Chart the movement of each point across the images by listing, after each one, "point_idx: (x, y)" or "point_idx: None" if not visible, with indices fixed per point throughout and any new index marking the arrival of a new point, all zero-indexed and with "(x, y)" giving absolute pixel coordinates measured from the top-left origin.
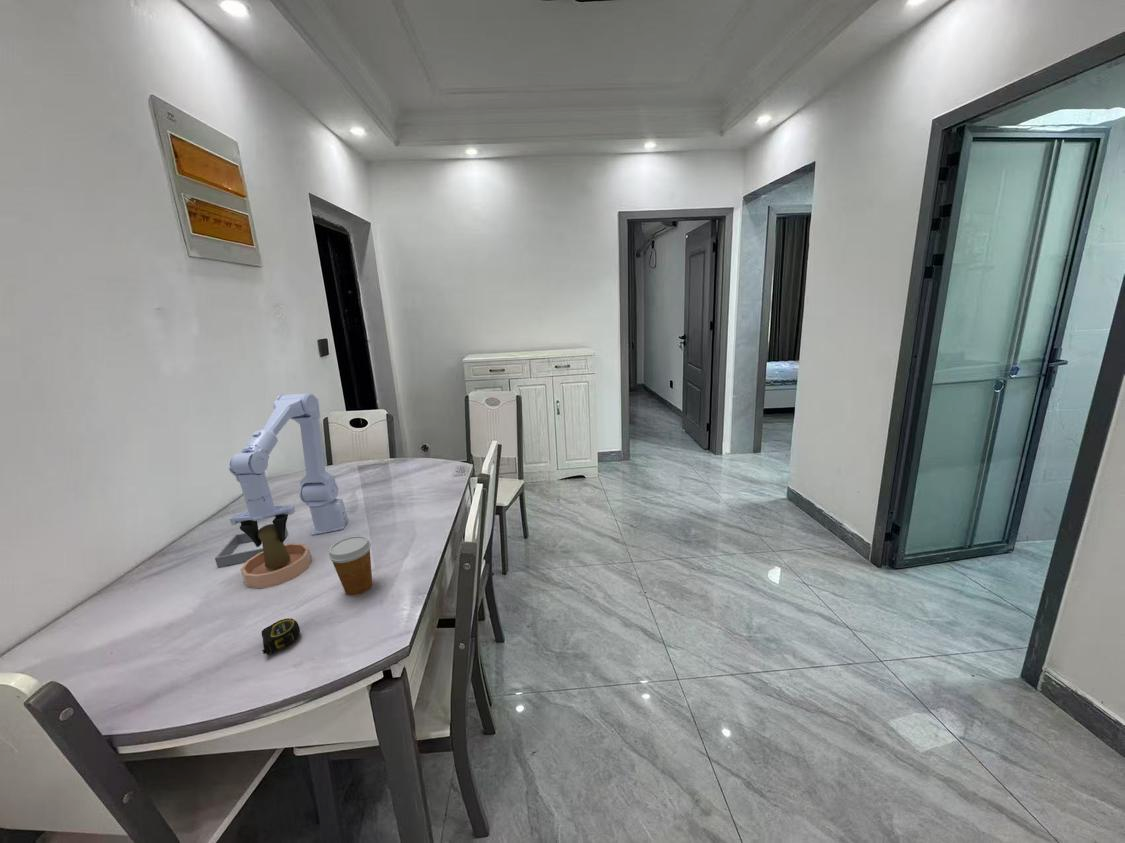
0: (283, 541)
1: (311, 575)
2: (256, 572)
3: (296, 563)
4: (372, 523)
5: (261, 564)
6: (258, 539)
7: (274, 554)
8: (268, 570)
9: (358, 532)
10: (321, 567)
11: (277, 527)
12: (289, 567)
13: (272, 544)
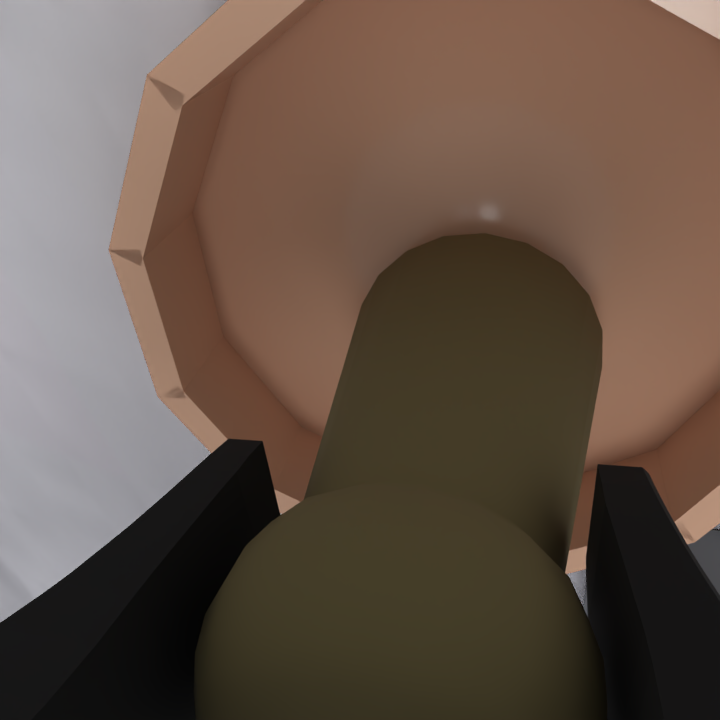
0: (223, 447)
1: (58, 8)
2: (695, 268)
3: (140, 121)
4: (20, 607)
5: (671, 412)
6: (607, 602)
7: (415, 330)
8: (560, 259)
9: (49, 551)
10: (43, 146)
11: (17, 686)
12: (182, 42)
13: (378, 437)
